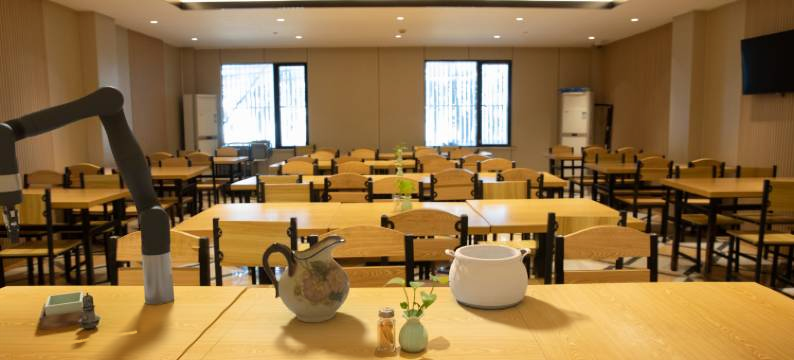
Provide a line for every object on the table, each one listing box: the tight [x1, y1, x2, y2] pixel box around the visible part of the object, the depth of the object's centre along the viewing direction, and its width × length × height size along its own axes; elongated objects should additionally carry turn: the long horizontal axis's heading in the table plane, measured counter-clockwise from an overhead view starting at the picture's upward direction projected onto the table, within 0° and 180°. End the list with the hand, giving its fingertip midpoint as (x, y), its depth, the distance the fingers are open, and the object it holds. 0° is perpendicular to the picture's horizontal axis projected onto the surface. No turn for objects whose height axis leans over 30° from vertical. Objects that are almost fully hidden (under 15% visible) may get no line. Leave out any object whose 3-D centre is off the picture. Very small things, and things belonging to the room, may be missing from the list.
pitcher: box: [261, 234, 351, 323], centre depth 190 cm, size 22×24×25 cm
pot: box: [444, 243, 532, 310], centre depth 205 cm, size 29×26×17 cm
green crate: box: [45, 290, 85, 316], centre depth 191 cm, size 10×12×6 cm
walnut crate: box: [39, 302, 83, 331], centre depth 191 cm, size 13×15×4 cm
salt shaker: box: [79, 291, 101, 331], centre depth 182 cm, size 6×6×12 cm
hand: (13, 241), depth 186 cm, fingers open, 8 cm apart
